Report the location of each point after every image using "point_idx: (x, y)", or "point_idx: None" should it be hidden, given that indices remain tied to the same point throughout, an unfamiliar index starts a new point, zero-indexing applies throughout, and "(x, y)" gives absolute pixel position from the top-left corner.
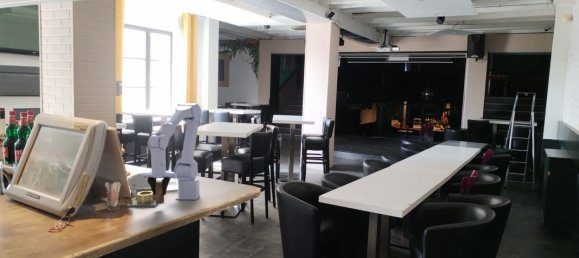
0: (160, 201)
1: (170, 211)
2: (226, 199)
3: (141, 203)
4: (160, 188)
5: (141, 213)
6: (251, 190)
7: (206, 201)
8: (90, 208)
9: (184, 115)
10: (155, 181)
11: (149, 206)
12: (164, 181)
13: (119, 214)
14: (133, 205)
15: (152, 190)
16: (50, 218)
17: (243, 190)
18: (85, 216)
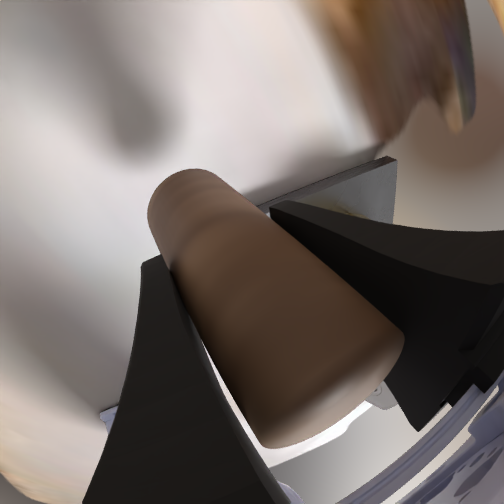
0: (166, 193)
1: (57, 187)
2: (7, 450)
3: (343, 208)
4: (228, 297)
5: (264, 52)
6: (43, 498)
7: (40, 418)
8: (469, 105)
9: None
10: (394, 368)
11: (280, 200)
12: (154, 501)
13: (375, 23)
14: (369, 167)
15: (335, 213)
16: (493, 8)
17: (60, 494)
18: (455, 9)
